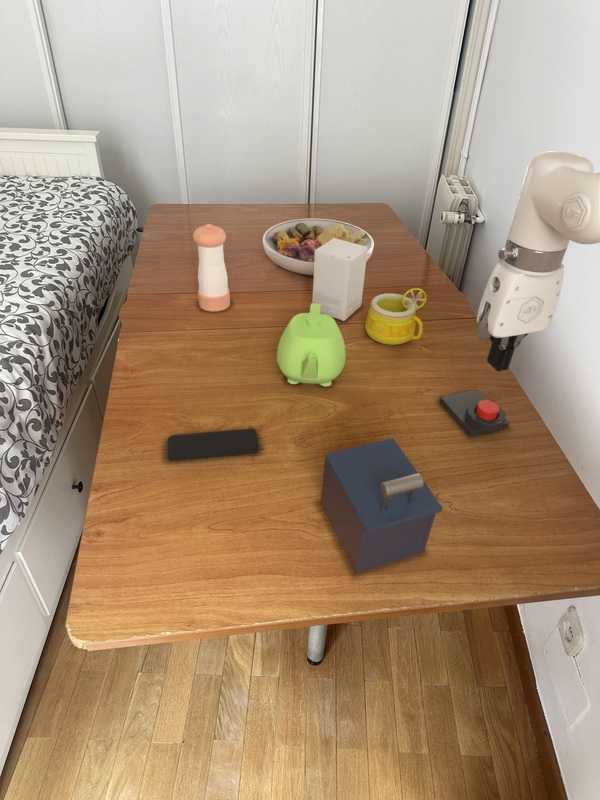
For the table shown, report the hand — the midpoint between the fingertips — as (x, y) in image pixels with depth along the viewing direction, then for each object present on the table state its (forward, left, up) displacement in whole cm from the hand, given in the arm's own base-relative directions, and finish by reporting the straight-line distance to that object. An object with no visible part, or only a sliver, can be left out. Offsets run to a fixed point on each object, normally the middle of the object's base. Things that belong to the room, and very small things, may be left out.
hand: (496, 365), depth 83 cm
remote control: (+12, +43, -16) cm, 47 cm away
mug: (+34, -2, -16) cm, 37 cm away
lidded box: (-11, +25, -16) cm, 32 cm away
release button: (+3, -4, -13) cm, 14 cm away
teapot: (+27, +20, -16) cm, 37 cm away
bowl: (+77, -1, -16) cm, 78 cm away
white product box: (+49, +5, -16) cm, 52 cm away
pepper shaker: (+59, +32, -16) cm, 69 cm away
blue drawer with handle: (-12, +25, -6) cm, 28 cm away
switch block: (+6, -4, -16) cm, 17 cm away
